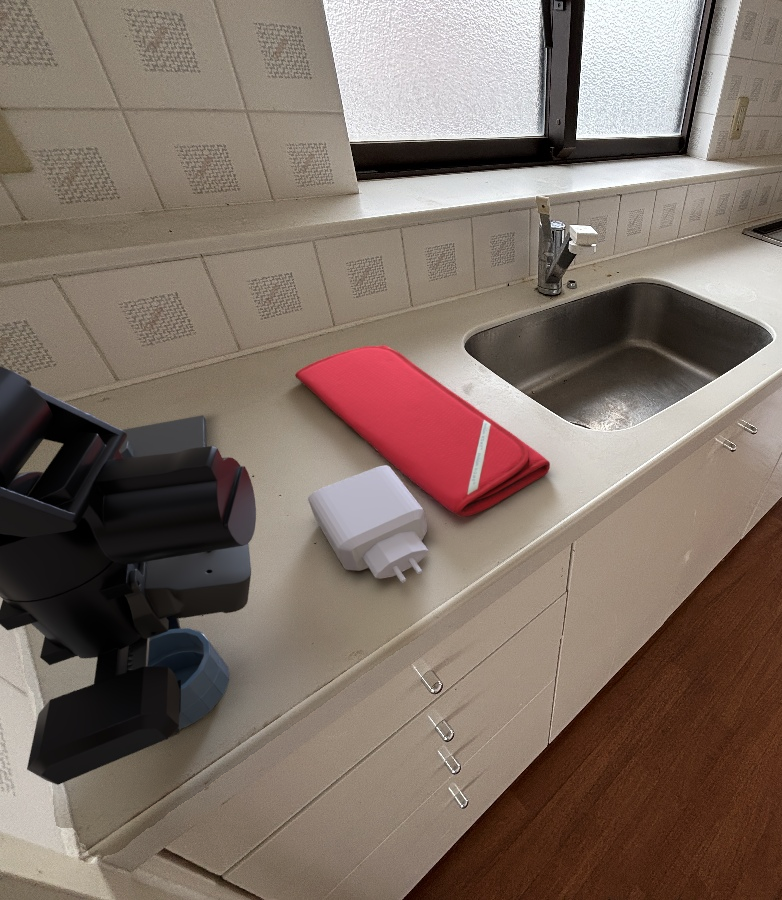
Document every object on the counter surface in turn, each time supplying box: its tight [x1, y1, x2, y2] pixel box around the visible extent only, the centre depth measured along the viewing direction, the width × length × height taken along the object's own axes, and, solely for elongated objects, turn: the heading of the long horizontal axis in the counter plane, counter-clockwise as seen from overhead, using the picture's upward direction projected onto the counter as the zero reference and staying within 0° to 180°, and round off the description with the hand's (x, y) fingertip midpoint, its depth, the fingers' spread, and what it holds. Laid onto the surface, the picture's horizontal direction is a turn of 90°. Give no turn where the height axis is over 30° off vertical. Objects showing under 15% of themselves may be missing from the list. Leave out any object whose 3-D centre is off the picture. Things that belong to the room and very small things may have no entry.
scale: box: [119, 414, 208, 458], centre depth 61 cm, size 12×12×2 cm
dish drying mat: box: [294, 344, 551, 517], centre depth 71 cm, size 16×41×4 cm, turn 48°
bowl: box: [148, 627, 230, 730], centre depth 40 cm, size 6×6×5 cm
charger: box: [307, 465, 429, 584], centre depth 54 cm, size 5×9×15 cm
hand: (172, 681), depth 40 cm, fingers open, 9 cm apart
